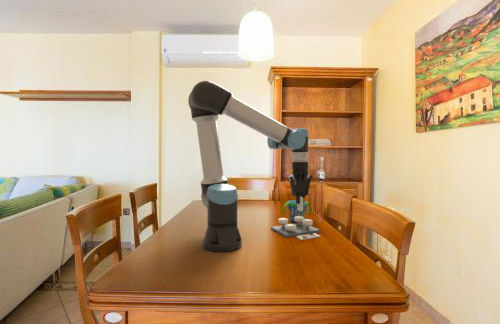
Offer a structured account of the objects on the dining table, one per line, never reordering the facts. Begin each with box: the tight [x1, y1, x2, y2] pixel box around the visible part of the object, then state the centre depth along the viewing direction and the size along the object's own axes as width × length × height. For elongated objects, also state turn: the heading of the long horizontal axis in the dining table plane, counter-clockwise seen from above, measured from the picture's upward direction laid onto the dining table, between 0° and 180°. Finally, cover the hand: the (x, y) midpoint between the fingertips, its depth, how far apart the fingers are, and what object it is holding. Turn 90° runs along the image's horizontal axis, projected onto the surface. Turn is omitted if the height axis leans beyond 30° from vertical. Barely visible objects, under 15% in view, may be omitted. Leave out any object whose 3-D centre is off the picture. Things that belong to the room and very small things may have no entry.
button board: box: [271, 222, 321, 238], centre depth 130 cm, size 18×13×1 cm
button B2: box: [294, 216, 304, 225], centre depth 134 cm, size 5×5×3 cm
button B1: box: [301, 218, 314, 228], centre depth 128 cm, size 5×5×3 cm
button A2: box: [277, 217, 289, 227], centre depth 130 cm, size 5×5×3 cm
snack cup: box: [282, 199, 312, 223], centre depth 147 cm, size 16×10×10 cm
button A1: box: [285, 223, 296, 232], centre depth 125 cm, size 5×5×3 cm
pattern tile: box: [295, 233, 322, 241], centre depth 120 cm, size 10×4×1 cm, turn 115°
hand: (300, 210), depth 134 cm, fingers closed
